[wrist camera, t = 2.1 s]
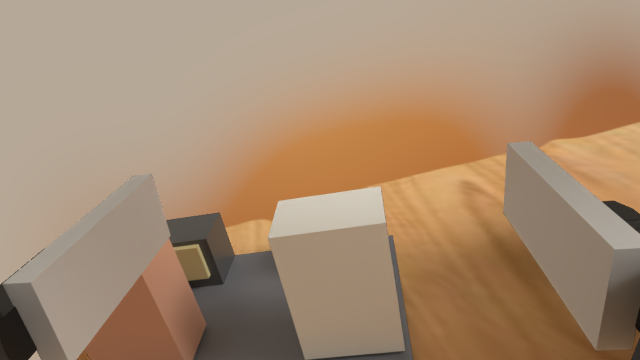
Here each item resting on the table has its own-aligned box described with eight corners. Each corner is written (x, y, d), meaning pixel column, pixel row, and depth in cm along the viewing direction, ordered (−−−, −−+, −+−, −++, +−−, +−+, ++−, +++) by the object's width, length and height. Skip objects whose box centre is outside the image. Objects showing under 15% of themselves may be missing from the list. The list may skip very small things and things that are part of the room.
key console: (170, 270, 51) (149, 222, 48) (393, 242, 47) (386, 188, 44) (87, 415, 35) (47, 357, 32) (418, 390, 31) (408, 321, 28)
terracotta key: (128, 332, 41) (72, 230, 35) (206, 324, 40) (160, 218, 34) (102, 377, 36) (33, 269, 31) (188, 370, 35) (132, 256, 30)
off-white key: (309, 313, 38) (278, 201, 33) (398, 304, 37) (380, 186, 32) (304, 359, 34) (267, 238, 29) (405, 350, 33) (385, 222, 27)
